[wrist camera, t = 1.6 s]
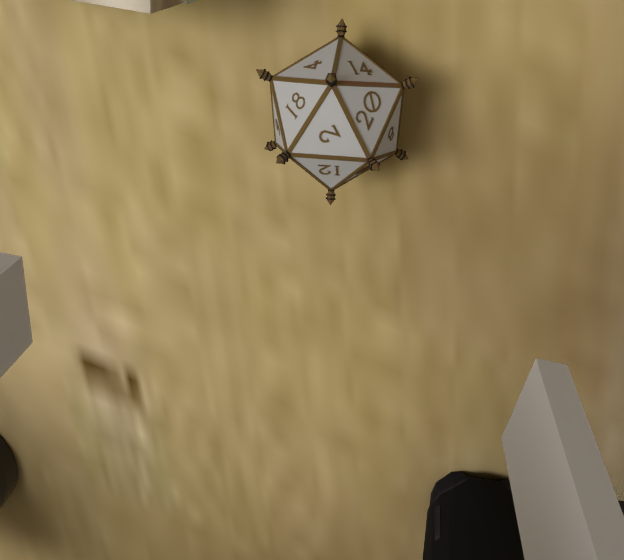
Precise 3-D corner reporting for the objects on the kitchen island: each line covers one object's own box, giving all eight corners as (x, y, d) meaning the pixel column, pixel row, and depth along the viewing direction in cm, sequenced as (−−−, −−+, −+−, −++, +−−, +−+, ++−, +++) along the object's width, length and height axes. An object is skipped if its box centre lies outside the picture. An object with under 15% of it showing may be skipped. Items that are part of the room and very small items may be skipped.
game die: (336, 55, 39) (326, -47, 29) (437, 136, 38) (463, 58, 28) (244, 157, 39) (202, 89, 29) (343, 243, 37) (335, 202, 27)
